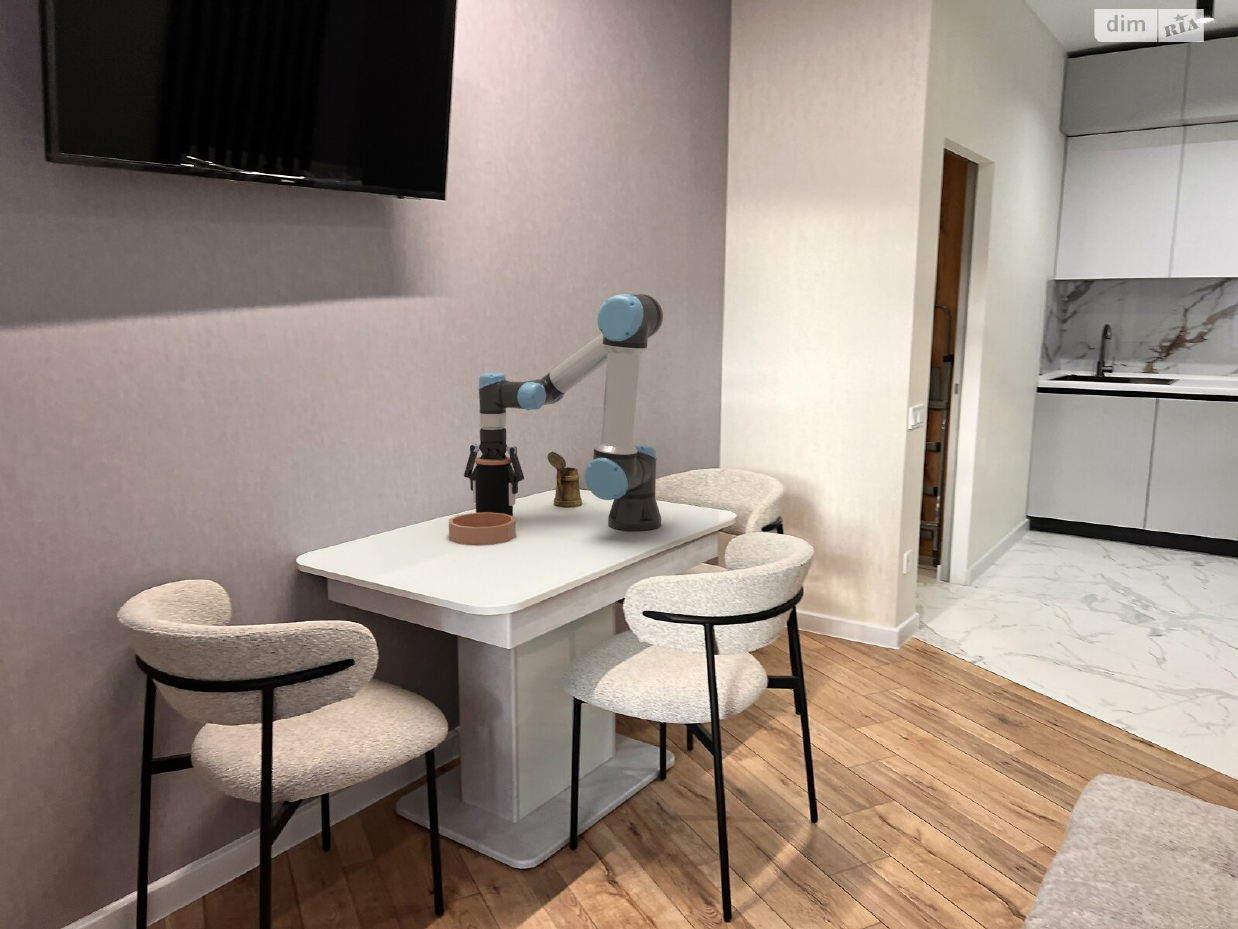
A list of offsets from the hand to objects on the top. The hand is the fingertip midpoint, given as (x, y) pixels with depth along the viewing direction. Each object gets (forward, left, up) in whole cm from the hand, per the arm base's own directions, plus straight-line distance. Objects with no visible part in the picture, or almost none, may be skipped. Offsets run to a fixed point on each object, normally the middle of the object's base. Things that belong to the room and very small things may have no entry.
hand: (494, 503), depth 270 cm
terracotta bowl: (-5, +18, -5) cm, 19 cm away
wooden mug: (-12, -24, -5) cm, 27 cm away
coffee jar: (0, 0, -5) cm, 5 cm away
